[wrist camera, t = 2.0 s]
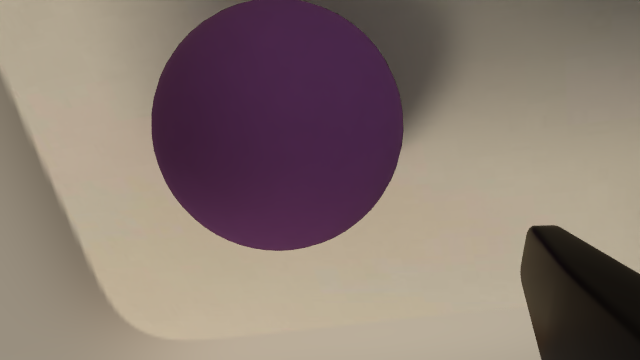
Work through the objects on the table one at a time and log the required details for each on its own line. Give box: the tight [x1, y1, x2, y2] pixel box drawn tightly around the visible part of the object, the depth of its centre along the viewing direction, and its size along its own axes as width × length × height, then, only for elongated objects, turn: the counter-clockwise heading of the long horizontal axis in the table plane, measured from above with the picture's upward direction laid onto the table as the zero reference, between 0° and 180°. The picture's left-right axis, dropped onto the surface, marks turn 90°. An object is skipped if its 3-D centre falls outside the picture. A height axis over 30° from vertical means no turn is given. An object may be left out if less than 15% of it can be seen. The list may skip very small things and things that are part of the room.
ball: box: [152, 0, 403, 251], centre depth 13 cm, size 6×6×6 cm
